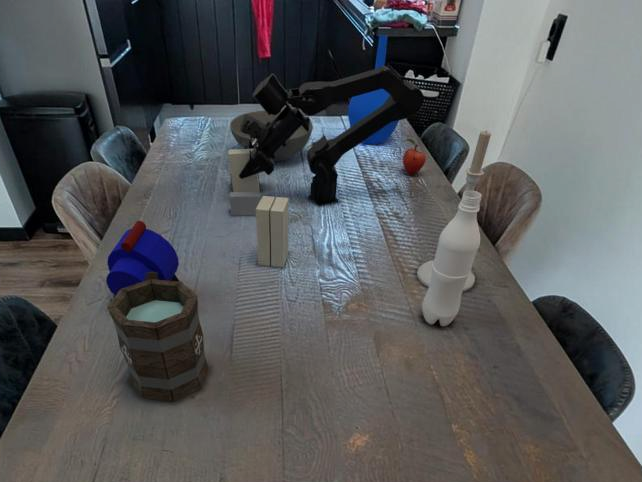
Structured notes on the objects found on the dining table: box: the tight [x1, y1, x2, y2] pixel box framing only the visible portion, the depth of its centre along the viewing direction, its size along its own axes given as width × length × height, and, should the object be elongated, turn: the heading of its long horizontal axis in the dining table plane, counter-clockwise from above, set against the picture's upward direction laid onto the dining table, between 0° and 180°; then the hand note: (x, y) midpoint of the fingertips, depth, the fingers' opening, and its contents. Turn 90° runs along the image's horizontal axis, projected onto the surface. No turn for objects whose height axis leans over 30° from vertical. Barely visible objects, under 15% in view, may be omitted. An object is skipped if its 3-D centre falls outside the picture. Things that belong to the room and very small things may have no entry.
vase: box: [347, 34, 400, 145], centre depth 161 cm, size 18×18×30 cm
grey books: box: [229, 171, 262, 217], centre depth 133 cm, size 8×21×5 cm, turn 5°
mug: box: [107, 272, 210, 402], centre depth 80 cm, size 20×14×15 cm
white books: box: [255, 195, 290, 268], centre depth 107 cm, size 7×6×13 cm
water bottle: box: [421, 190, 483, 327], centre depth 88 cm, size 7×7×25 cm
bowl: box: [229, 110, 314, 162], centre depth 154 cm, size 26×26×10 cm
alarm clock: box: [105, 220, 181, 298], centre depth 94 cm, size 12×12×15 cm
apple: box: [402, 138, 427, 176], centre depth 147 cm, size 8×7×10 cm
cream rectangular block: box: [227, 148, 261, 193], centre depth 128 cm, size 7×3×13 cm, turn 92°
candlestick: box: [416, 129, 492, 293], centre depth 97 cm, size 13×13×30 cm
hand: (239, 174), depth 128 cm, fingers closed on cream rectangular block, 4 cm apart
